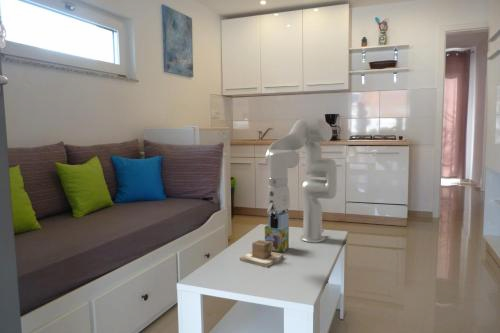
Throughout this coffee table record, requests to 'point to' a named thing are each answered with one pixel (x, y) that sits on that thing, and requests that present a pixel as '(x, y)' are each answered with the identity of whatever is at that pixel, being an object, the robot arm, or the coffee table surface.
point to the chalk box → (277, 238)
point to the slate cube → (281, 220)
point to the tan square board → (260, 261)
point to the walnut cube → (261, 249)
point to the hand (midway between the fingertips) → (278, 225)
